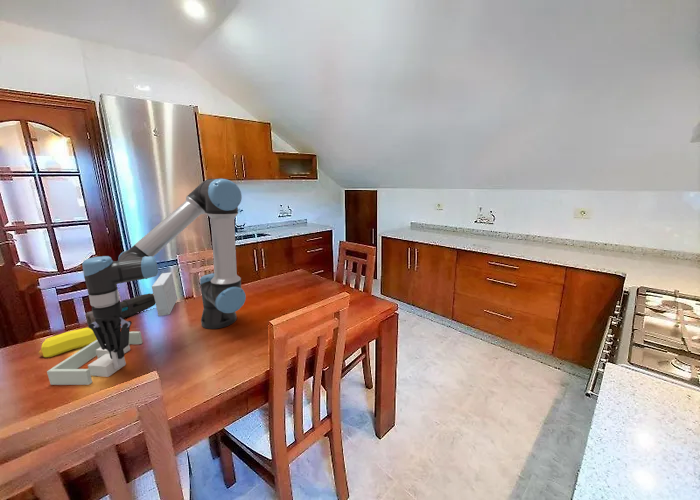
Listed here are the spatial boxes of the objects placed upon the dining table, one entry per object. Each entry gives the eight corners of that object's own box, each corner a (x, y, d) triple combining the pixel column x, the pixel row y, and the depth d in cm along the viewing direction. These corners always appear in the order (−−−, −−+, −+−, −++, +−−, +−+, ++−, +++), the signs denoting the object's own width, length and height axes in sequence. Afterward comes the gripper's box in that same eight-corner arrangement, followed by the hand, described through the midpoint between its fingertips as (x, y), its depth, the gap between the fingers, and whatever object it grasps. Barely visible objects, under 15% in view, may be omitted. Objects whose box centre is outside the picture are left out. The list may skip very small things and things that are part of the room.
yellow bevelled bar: (39, 354, 115) (39, 362, 109) (34, 338, 113) (34, 346, 108) (99, 336, 127) (102, 343, 122) (96, 322, 126) (98, 328, 120)
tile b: (126, 364, 107) (123, 354, 106) (108, 377, 101) (105, 366, 100) (108, 363, 108) (106, 353, 107) (90, 375, 102) (87, 365, 101)
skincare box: (166, 300, 164) (161, 272, 160) (177, 299, 166) (173, 271, 162) (156, 316, 144) (151, 285, 141) (169, 314, 146) (164, 284, 143)
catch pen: (142, 342, 122) (140, 331, 120) (89, 384, 97) (85, 371, 96) (111, 342, 122) (109, 331, 121) (50, 384, 97) (46, 371, 96)
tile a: (130, 350, 117) (128, 341, 116) (114, 360, 110) (112, 351, 109) (114, 349, 118) (112, 340, 117) (97, 359, 111) (95, 349, 110)
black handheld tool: (162, 311, 157) (94, 331, 130) (154, 312, 160) (86, 331, 132) (158, 291, 156) (89, 306, 129) (151, 292, 159) (81, 307, 132)
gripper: (133, 298, 102) (145, 359, 107) (95, 299, 102) (109, 360, 107) (117, 308, 95) (130, 373, 100) (76, 308, 95) (91, 373, 100)
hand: (119, 366), depth 104 cm, fingers closed
